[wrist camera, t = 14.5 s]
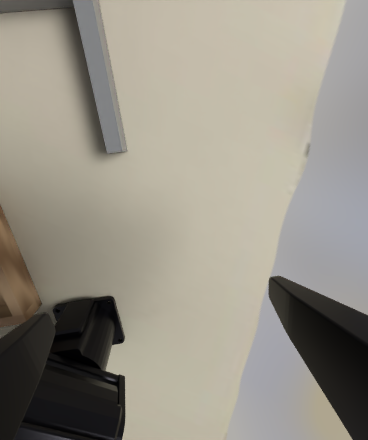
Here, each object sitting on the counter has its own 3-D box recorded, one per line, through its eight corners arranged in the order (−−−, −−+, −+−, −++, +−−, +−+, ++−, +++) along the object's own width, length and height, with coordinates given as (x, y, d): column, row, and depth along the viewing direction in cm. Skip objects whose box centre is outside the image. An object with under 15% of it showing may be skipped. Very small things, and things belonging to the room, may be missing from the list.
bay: (127, 151, 19) (122, 151, 16) (-55, 172, 18) (-88, 176, 15) (95, -17, 15) (82, -48, 13) (-139, 0, 14) (-199, -30, 12)
